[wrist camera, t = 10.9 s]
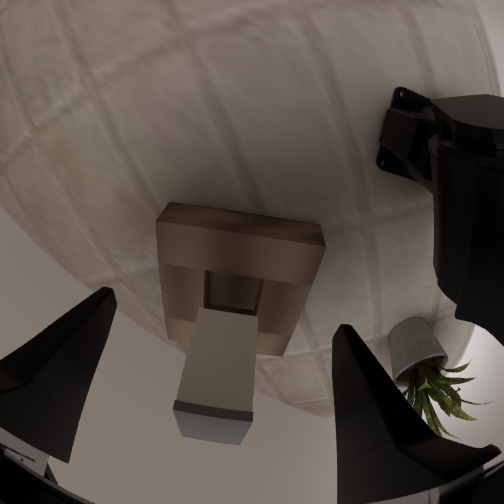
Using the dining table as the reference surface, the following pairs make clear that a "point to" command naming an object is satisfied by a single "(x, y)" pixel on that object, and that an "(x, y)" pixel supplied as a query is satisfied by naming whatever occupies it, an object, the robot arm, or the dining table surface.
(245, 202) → the dining table surface
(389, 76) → the dining table surface
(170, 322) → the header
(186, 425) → the plug
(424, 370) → the house plant
